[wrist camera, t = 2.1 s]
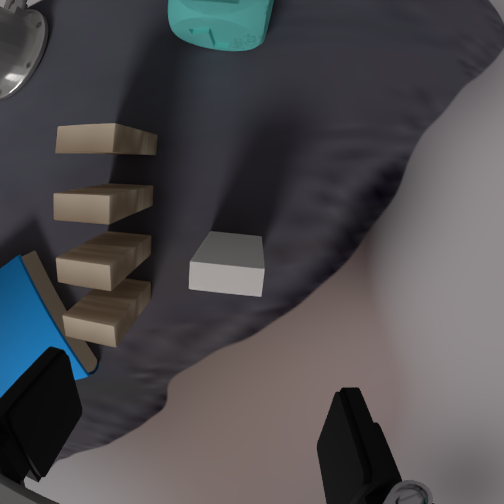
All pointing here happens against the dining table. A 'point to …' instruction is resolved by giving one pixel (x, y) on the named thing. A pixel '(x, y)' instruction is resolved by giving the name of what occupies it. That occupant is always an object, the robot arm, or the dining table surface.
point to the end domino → (228, 264)
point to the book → (34, 322)
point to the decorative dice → (221, 22)
